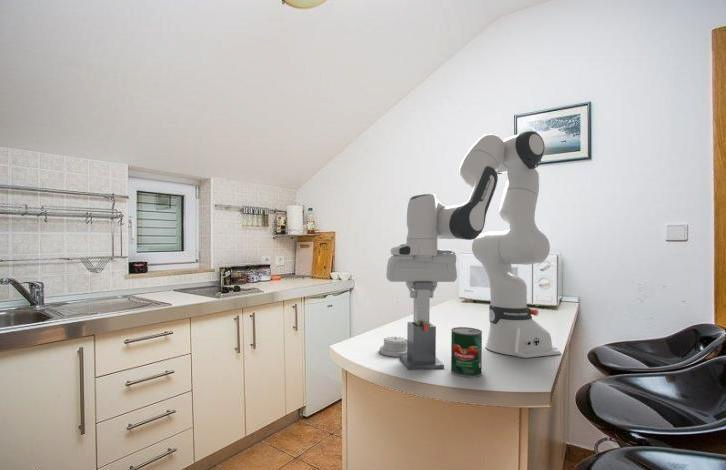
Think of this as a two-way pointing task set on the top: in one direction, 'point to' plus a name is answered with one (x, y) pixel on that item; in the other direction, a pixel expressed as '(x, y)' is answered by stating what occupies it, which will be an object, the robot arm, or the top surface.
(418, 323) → the column
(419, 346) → the grey hollow housing
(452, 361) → the canned tomato
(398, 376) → the top surface
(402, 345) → the mechanical component
